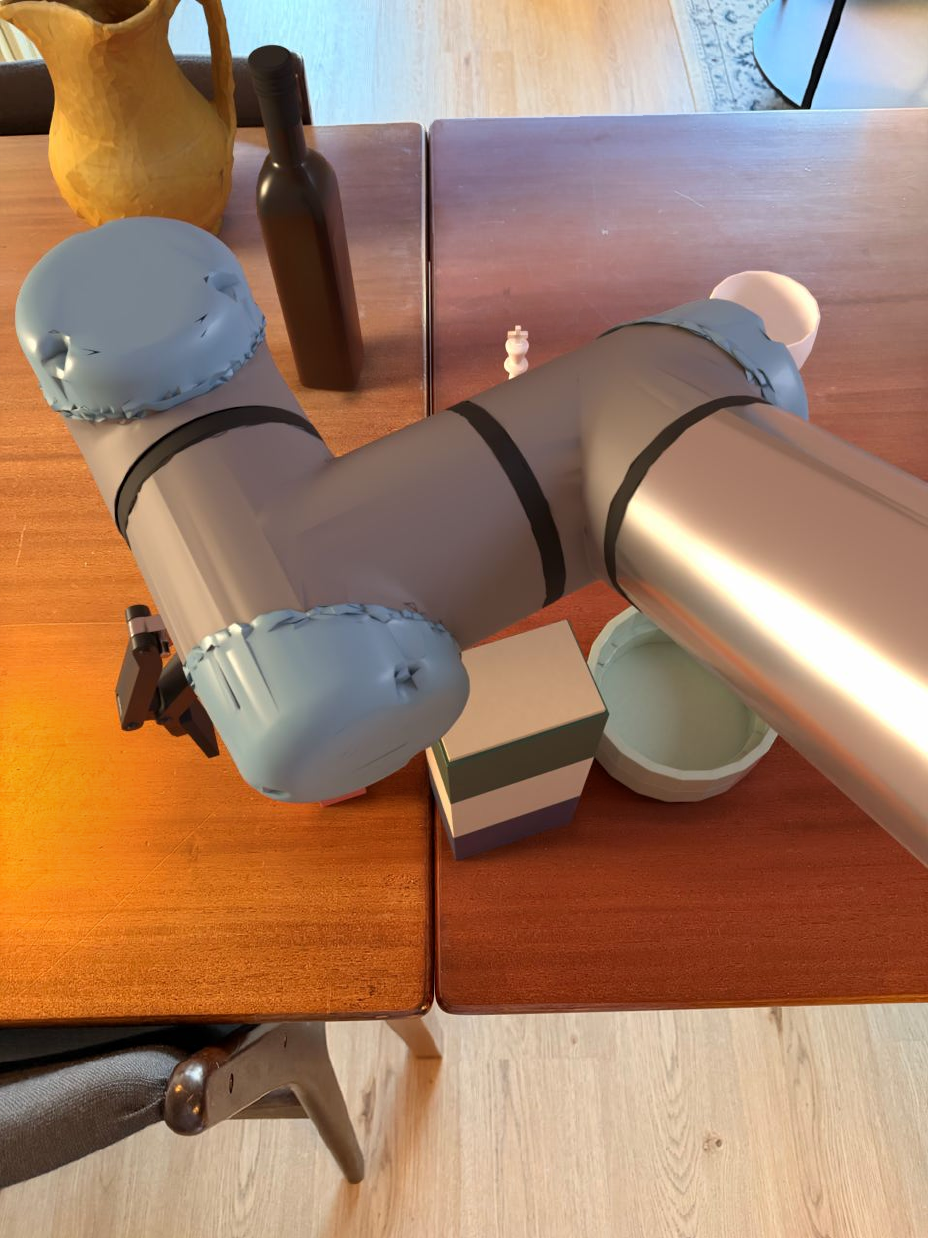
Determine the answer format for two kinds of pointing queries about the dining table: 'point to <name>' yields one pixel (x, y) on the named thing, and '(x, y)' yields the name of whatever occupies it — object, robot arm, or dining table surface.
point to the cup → (776, 308)
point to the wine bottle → (305, 234)
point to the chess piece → (516, 352)
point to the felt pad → (522, 690)
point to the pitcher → (133, 110)
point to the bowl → (669, 716)
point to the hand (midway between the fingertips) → (310, 707)
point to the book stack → (514, 784)
